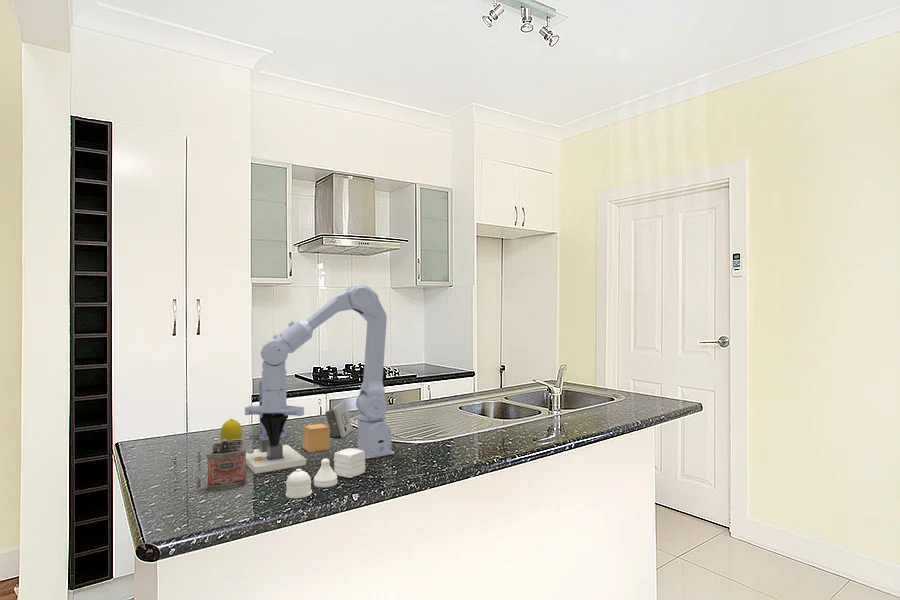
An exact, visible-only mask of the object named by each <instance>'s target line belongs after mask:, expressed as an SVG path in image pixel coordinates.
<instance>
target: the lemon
mask: <svg viewBox="0 0 900 600" xmlns="http://www.w3.org/2000/svg"><path fill="white" fill-rule="evenodd" d="M242 437H243V428H242V425H241V424H240V422H239V421H238V420H235V419H233V418H230V419H229V420H227V421H225V422H224V423H223V424H222V426H221V429H220V441H222V440H223V439H227V440H228V441H231V440H233V439H243V438H242ZM230 447H231V449H233V447H234V446H230Z"/></svg>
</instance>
